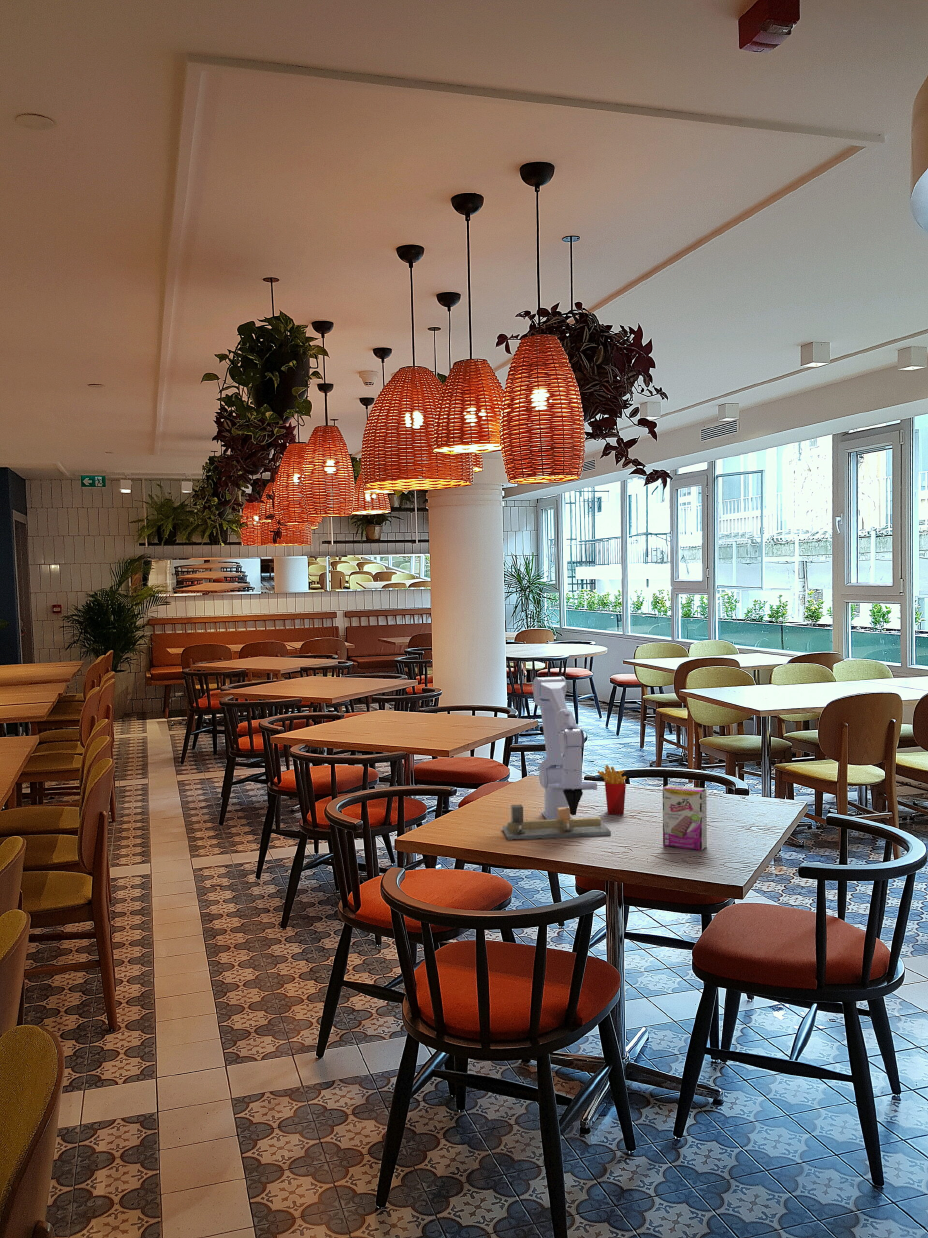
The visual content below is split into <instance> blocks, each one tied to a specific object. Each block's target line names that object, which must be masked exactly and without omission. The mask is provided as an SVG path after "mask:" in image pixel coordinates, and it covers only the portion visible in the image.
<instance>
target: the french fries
mask: <svg viewBox="0 0 928 1238" xmlns="http://www.w3.org/2000/svg"><path fill="white" fill-rule="evenodd" d="M604 768H605V769H604V770H601V771H600V770H598V771H596V772H597V774H599V775H600V776H601V777H602V778H603V779H604V780H603V781H604V787H605V788H604V790H605V798H606V808H607V809H606V810H607V815H609V816H610V815H611V816H614V815H615V816H619V814H620V816H622V815H623V814H625V812H624V811H625V800H626V788H627V787H626V786H627V785H626V781H625V780H626V779H627V776H626V775H625V776H622V775H623V774H624V773H625V772H626V771H625V769H623V770H622V771H621V770H618V771H617V770H615V768H614V766H609V765H608V764H606V765H605V766H604Z"/></svg>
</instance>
